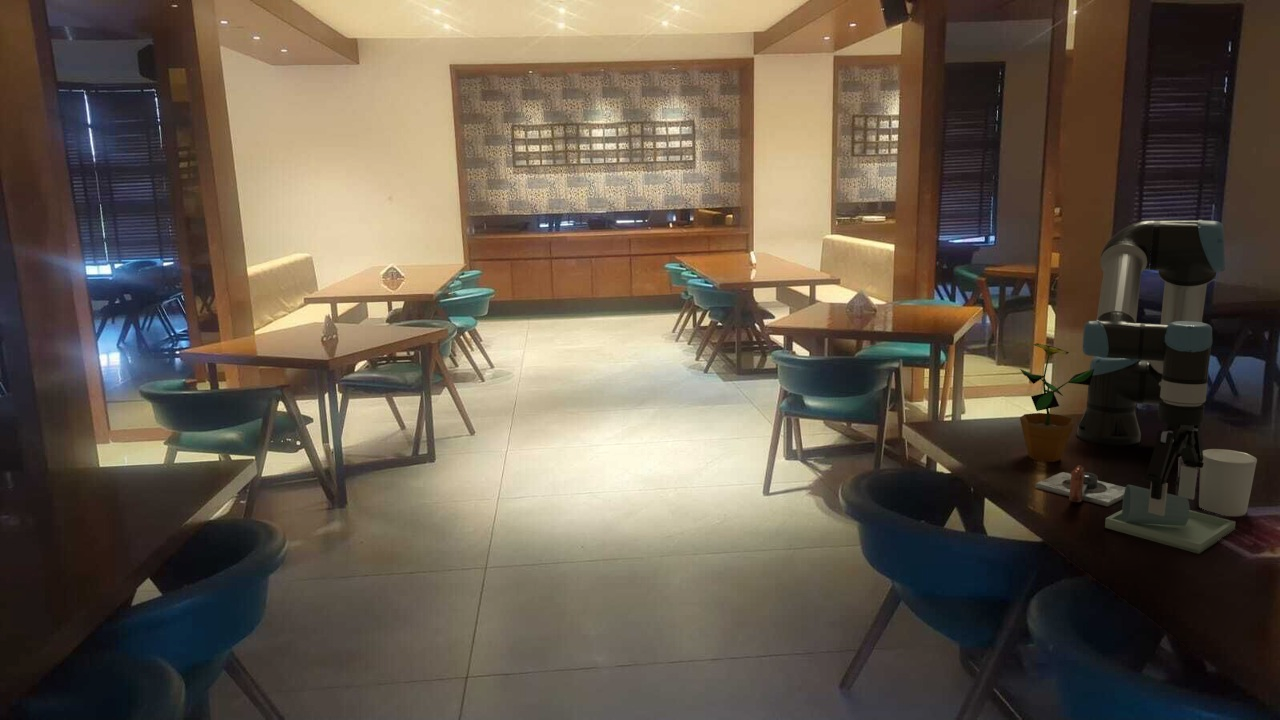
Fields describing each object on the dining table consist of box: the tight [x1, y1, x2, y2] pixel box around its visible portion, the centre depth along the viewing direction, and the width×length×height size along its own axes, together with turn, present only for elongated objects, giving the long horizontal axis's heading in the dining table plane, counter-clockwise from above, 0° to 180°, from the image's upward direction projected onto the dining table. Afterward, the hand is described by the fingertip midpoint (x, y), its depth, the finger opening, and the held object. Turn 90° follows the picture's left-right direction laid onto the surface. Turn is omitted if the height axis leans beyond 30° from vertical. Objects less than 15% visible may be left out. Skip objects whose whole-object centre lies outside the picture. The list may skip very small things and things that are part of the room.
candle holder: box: [1198, 448, 1258, 517], centre depth 180 cm, size 10×10×12 cm
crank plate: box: [1035, 471, 1126, 507], centre depth 194 cm, size 12×16×1 cm
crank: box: [1068, 464, 1099, 503], centre depth 188 cm, size 16×5×7 cm, turn 144°
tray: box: [1104, 509, 1236, 555], centre depth 171 cm, size 17×17×2 cm
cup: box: [1121, 483, 1190, 526], centre depth 170 cm, size 8×8×10 cm
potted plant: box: [1019, 343, 1094, 463], centre depth 215 cm, size 18×19×30 cm
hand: (1171, 505), depth 170 cm, fingers open, 13 cm apart
